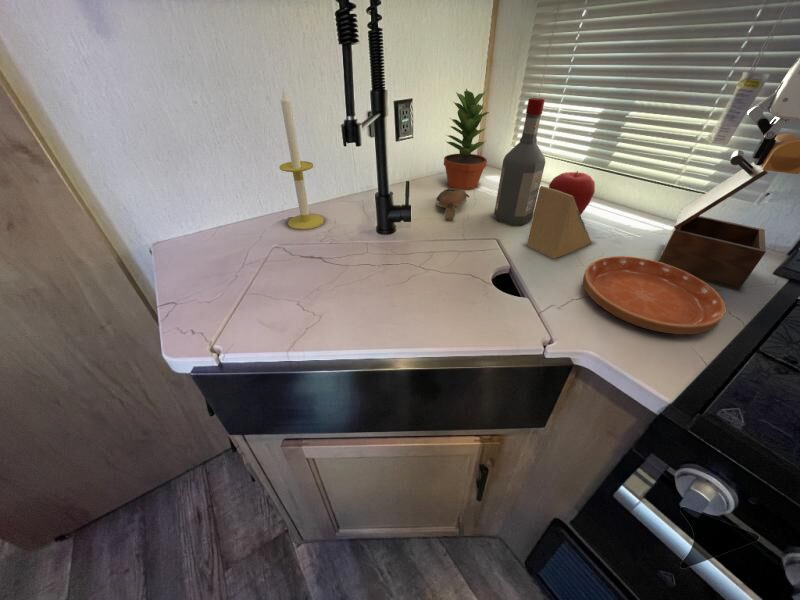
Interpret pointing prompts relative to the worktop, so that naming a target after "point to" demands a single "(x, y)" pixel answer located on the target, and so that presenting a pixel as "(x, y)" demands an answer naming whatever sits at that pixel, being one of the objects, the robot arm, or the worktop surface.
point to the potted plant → (466, 145)
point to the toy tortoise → (451, 201)
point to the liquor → (521, 172)
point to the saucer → (653, 295)
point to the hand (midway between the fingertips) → (777, 164)
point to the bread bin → (715, 250)
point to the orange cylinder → (784, 155)
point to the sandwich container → (556, 224)
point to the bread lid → (722, 189)
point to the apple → (575, 187)
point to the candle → (297, 173)
